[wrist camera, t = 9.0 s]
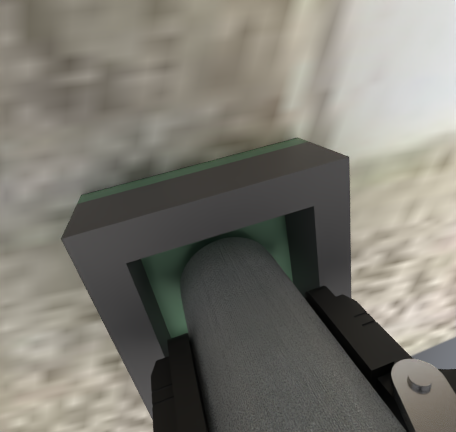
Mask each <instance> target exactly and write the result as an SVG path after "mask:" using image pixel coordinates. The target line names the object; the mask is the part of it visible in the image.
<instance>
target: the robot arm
mask: <svg viewBox="0 0 456 432" xmlns="http://www.w3.org/2000/svg"><path fill="white" fill-rule="evenodd" d="M305 299H306V301H307V302H308V303H309V305H310V306H311V307H312V309H313V310H314V311H315V312H316V314H317V315H318V316H319V318H320V319H321V320H322V322H323V323H324V324H325V325H326V327H327V328H328V329H329V331H330V332H331V333H332V335H333V336H334V337H335V339H336V340H337V341H338V342H339V344H340V345H341V346H342V348H343V349H344V350H345V352H346V353H347V354H348V356H349V357H350V358H351V359H352V361H353V362H354V363H355V365H356V366H357V367H358V369H359V370H360V371H361V372H362V374H363V375H364V376H365V378H366V379H367V380H368V382H369V383H370V384H371V386H372V387H373V388H374V389H375V391H376V392H377V393H378V395H379V396H380V397H381V399H382V400H383V401H384V403H385V404H386V405H387V406H388V408H389V409H390V410H391V412H392V413H393V414H394V416H395V417H396V418H397V419H398V421H399V422H400V423H401V425H402V426H403V427H404V429H405V430H406V431H407V432H456V369H449V370H446V369H444V370H443V369H437V368H435V367H434V366H432V365H431V364H429V363H427V362H424V361H421V360H417V359H413V358H412V357H411V356H410V355H409V354H408V353H407V352H406V351H405V350H404V349H403V348H402V347H401V346H400V345H399V344H398V343H397V342H396V341H395V340H394V339H393V338H392V337H391V336H390V335H389V334H388V333H387V332H386V331H385V330H384V329H383V328H382V327H381V326H380V325H379V324H378V323H377V322H375V320H374V319H373V318H372V317H371V316H370V315H369V314H367V312H366V311H365V310H364V309H363V308H362V306H361V305H360V304H359V303H358V302H357V301H355V300H353V299H351V298H349V297H347V296H345V295H343V294H342V295H339V296H335V295H334V294H333V293H332V292H331V291H330V290H329V289H328V288H327V287H326V286H324V285H323V286H321V287H318V288H315V289H312V290H309V291H306V292H305ZM167 345H168V353H169V356H168V357H165V358H162V359H159V360H157V361H156V362H155V365H154V368H153V371H152V374H151V391H152V405H153V407H152V411H153V431H154V432H209V427H208V422H207V418H206V413H205V408H204V403H203V398H202V394H201V389H200V384H199V379H198V374H197V370H196V365H195V360H194V355H193V351H192V346H191V341H190V338H189V335H188V333H185V334H182V335H180V336H177V337H174V338H171V339H168V340H167Z"/></svg>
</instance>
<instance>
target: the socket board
mask: <svg viewBox="0 0 456 432" xmlns="http://www.w3.org/2000/svg"><path fill="white" fill-rule="evenodd" d="M229 237H242V238H248V239H251V240H254V241H256V242H258V243H259V244H261V245H262V246H263V247H264V248H265V249H266V250H267V251H268V252H269V253H270V254H271V255H272V256H273V258H274V259H275V260H276V262H277V263H278V264H279V265H280V267H281V268H282V269H283V271H284V272H285V273H286V275H287V276H288V277H289V279H290V280H291V281H292V282H293V284H294V285H295V286H296V288H297V289H298V290H299V292H300V293H301V294H302V295H303V297H304V298H305V292H306V291H309V290H312V289H315V288H318V287H321V286H323V285H324V286H326V287H327V288H328V289H329V290H330V291H331V292H332V293H333V294H334V295H335V296H339V295H342V294H343V295H345V296H347V297H349V298H351V248H350V178H349V157H348V156H345V155H342V154H340V153H337V152H334V151H332V150H329V149H326V148H324V147H321V146H318V145H316V144H313V143H310V142H308V141H305V140H302V139H300V138H295V139H292V140H288V141H284V142H280V143H277V144H273V145H269V146H265V147H261V148H258V149H254V150H250V151H246V152H243V153H239V154H235V155H231V156H228V157H224V158H220V159H216V160H213V161H209V162H205V163H201V164H198V165H194V166H190V167H186V168H182V169H179V170H175V171H171V172H167V173H164V174H160V175H156V176H152V177H149V178H145V179H141V180H137V181H134V182H130V183H126V184H122V185H118V186H115V187H111V188H107V189H103V190H100V191H96V192H92V193H88V194H85V195H81V197H80V199H79V201H78V204H77V206H76V208H75V210H74V212H73V214H72V216H71V219H70V221H69V223H68V225H67V227H66V229H65V232H64V234H63V236H62V238H61V240H62V242H63V244H64V246H65V248H66V250H67V252H68V254H69V256H70V257H71V259H72V261H73V263H74V265H75V267H76V269H77V271H78V273H79V275H80V277H81V279H82V281H83V283H84V285H85V287H86V289H87V291H88V293H89V295H90V297H91V299H92V301H93V303H94V305H95V307H96V309H97V311H98V313H99V315H100V317H101V319H102V321H103V323H104V325H105V327H106V329H107V331H108V333H109V335H110V337H111V339H112V341H113V342H114V344H115V346H116V348H117V350H118V352H119V354H120V356H121V358H122V360H123V362H124V364H125V366H126V368H127V370H128V372H129V374H130V376H131V378H132V380H133V382H134V384H135V386H136V388H137V390H138V392H139V394H140V396H141V398H142V400H143V402H144V404H145V406H146V408H147V410H148V412H149V414H150V416H151V418H152V420H153V411H152V407H153V405H152V391H151V374H152V371H153V368H154V365H155V362H156V361H157V360H159V359H162V358H165V357H168V356H169V353H168V345H167V340H168V339H171V338H174V337H177V336H180V335H182V334H185V333H188V329H187V324H186V319H185V314H184V310H183V305H182V300H181V292H180V280H181V276H182V273H183V270H184V268H185V266H186V264H187V263H188V261H189V260H190V259H191V258H192V256H193V255H194V254H195V253H196V252H198V251H199V250H200V249H201V248H203V247H204V246H206V245H208V244H210V243H212V242H214V241H217V240H220V239H223V238H229ZM188 335H189V334H188Z"/></svg>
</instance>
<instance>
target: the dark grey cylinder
mask: <svg viewBox="0 0 456 432" xmlns="http://www.w3.org/2000/svg"><path fill="white" fill-rule="evenodd" d="M180 292H181V300H182V305H183V310H184V314H185V319H186V324H187V329H188V334H189V338H190V341H191V346H192V351H193V355H194V360H195V365H196V370H197V374H198V379H199V384H200V389H201V394H202V398H203V403H204V408H205V413H206V418H207V422H208V427H209V432H407V431H406V430H405V429H404V427H403V426H402V425H401V423H400V422H399V421H398V419H397V418H396V417H395V416H394V414H393V413H392V412H391V410H390V409H389V408H388V406H387V405H386V404H385V403H384V401H383V400H382V399H381V397H380V396H379V395H378V393H377V392H376V391H375V389H374V388H373V387H372V386H371V384H370V383H369V382H368V380H367V379H366V378H365V376H364V375H363V374H362V372H361V371H360V370H359V369H358V367H357V366H356V365H355V363H354V362H353V361H352V359H351V358H350V357H349V356H348V354H347V353H346V352H345V350H344V349H343V348H342V346H341V345H340V344H339V342H338V341H337V340H336V339H335V337H334V336H333V335H332V333H331V332H330V331H329V329H328V328H327V327H326V325H325V324H324V323H323V322H322V320H321V319H320V318H319V316H318V315H317V314H316V312H315V311H314V310H313V309H312V307H311V306H310V305H309V303H308V302H307V301H306V299H305V298H304V297H303V295H302V294H301V293H300V292H299V290H298V289H297V288H296V286H295V285H294V284H293V282H292V281H291V280H290V279H289V277H288V276H287V275H286V273H285V272H284V271H283V269H282V268H281V267H280V265H279V264H278V263H277V262H276V260H275V259H274V258H273V256H272V255H271V254H270V253H269V252H268V251H267V250H266V249H265V248H264V247H263V246H262V245H261V244H259V243H258V242H256V241H254V240H251V239H248V238H242V237H229V238H223V239H220V240H217V241H214V242H212V243H210V244H208V245H206V246H204V247H203V248H201V249H200V250H199V251H198V252H196V253H195V254H194V255H193V256H192V258H191V259H190V260H189V261H188V263H187V264H186V266H185V268H184V270H183V273H182V276H181V280H180Z"/></svg>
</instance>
